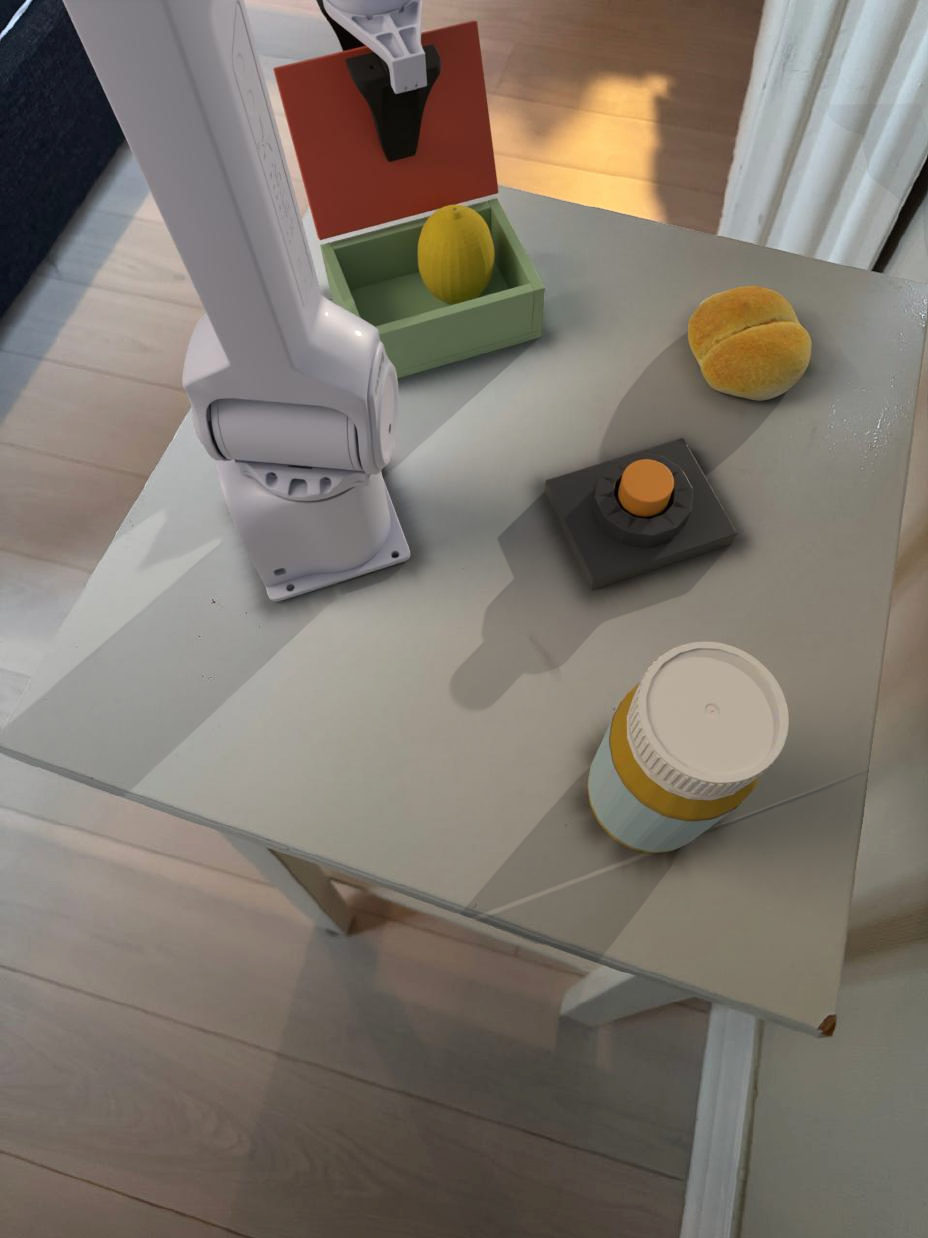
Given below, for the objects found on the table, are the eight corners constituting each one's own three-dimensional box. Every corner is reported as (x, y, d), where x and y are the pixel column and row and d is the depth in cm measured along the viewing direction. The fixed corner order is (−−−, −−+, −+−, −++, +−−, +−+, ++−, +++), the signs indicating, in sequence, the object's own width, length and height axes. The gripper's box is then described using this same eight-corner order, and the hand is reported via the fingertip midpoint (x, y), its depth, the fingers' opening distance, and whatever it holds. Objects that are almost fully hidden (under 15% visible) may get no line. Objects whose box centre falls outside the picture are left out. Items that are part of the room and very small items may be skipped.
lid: (477, 20, 54) (459, 17, 57) (274, 68, 52) (267, 63, 55) (499, 193, 60) (482, 182, 63) (319, 240, 59) (311, 227, 62)
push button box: (590, 591, 53) (596, 569, 50) (544, 491, 56) (547, 465, 53) (731, 544, 54) (745, 520, 51) (678, 449, 57) (688, 422, 55)
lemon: (494, 326, 62) (495, 237, 55) (420, 327, 62) (411, 238, 55) (493, 272, 64) (495, 179, 57) (422, 272, 64) (414, 180, 57)
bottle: (622, 876, 46) (681, 823, 32) (565, 762, 48) (597, 668, 35) (731, 824, 47) (834, 752, 33) (670, 715, 49) (742, 607, 36)
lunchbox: (541, 337, 62) (545, 287, 57) (366, 388, 60) (357, 340, 56) (496, 250, 66) (497, 197, 61) (331, 295, 64) (319, 244, 60)
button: (630, 523, 52) (635, 508, 50) (609, 483, 53) (613, 467, 52) (677, 508, 52) (683, 493, 51) (655, 468, 54) (660, 452, 52)
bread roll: (717, 417, 58) (732, 378, 55) (671, 324, 62) (683, 282, 58) (825, 391, 59) (848, 351, 55) (774, 300, 63) (792, 258, 59)
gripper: (474, -47, 43) (476, 181, 56) (391, -183, 49) (410, 52, 61) (345, -16, 43) (376, 209, 55) (275, -158, 48) (319, 75, 61)
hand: (388, 128), depth 58 cm, fingers closed on lid, 5 cm apart
